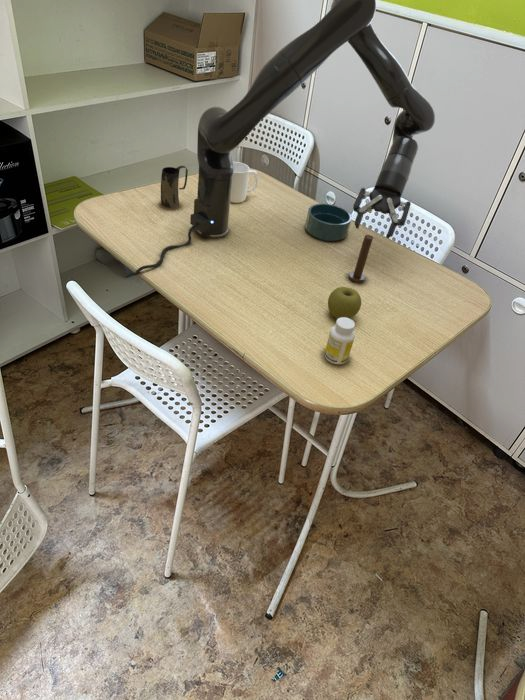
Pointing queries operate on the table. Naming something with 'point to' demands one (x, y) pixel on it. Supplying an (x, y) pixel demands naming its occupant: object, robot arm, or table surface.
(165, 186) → the mug
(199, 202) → the robot arm
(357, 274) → the brown rod with base
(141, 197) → the table surface
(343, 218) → the bowl
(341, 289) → the apple
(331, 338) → the supplement bottle
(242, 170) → the cup
